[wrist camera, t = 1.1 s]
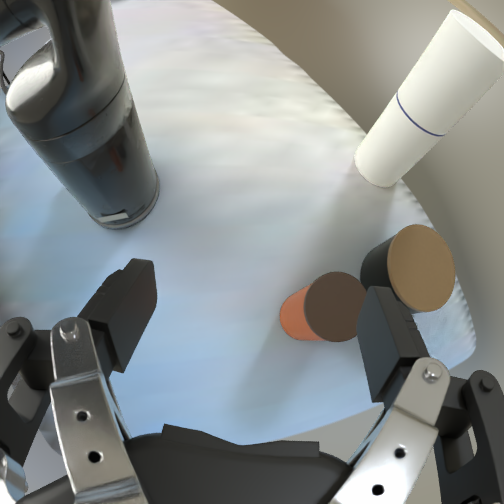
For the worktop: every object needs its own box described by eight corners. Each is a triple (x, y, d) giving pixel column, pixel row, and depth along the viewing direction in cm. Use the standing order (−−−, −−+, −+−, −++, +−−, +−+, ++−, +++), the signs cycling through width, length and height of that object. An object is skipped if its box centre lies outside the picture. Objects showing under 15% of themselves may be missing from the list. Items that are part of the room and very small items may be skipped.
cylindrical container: (346, 166, 37) (449, 18, 14) (364, 135, 40) (451, 4, 16) (389, 197, 37) (516, 76, 13) (403, 163, 39) (508, 50, 15)
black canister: (345, 264, 34) (374, 246, 27) (398, 232, 36) (429, 211, 29) (382, 332, 32) (416, 329, 25) (430, 293, 34) (466, 283, 27)
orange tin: (269, 306, 31) (292, 292, 22) (312, 282, 33) (349, 259, 23) (293, 350, 30) (326, 355, 21) (335, 325, 32) (380, 318, 22)
